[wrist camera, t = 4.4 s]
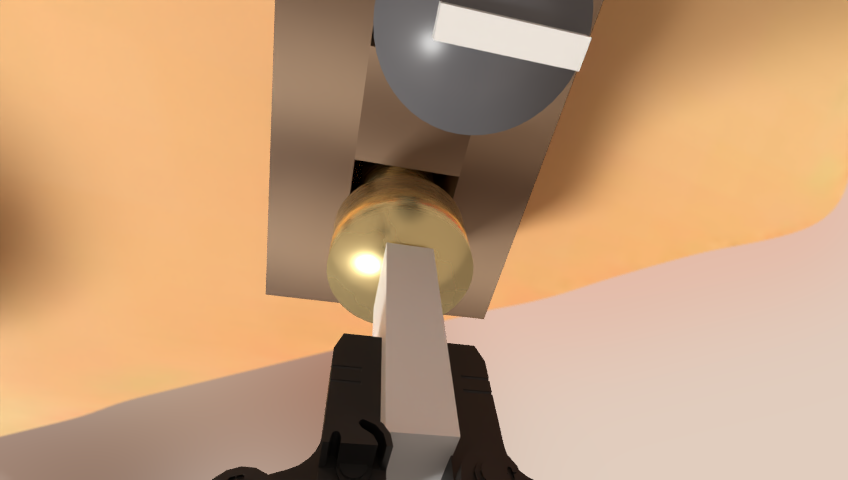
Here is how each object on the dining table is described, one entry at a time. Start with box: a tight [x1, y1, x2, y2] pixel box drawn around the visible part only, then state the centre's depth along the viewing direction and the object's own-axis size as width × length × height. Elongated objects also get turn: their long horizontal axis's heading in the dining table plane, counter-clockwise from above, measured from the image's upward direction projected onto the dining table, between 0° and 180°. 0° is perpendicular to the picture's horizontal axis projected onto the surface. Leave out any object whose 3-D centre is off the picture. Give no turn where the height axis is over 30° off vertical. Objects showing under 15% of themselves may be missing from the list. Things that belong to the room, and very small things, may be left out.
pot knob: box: [373, 0, 593, 135], centre depth 12 cm, size 4×4×10 cm
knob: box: [327, 161, 474, 323], centre depth 19 cm, size 5×5×9 cm
